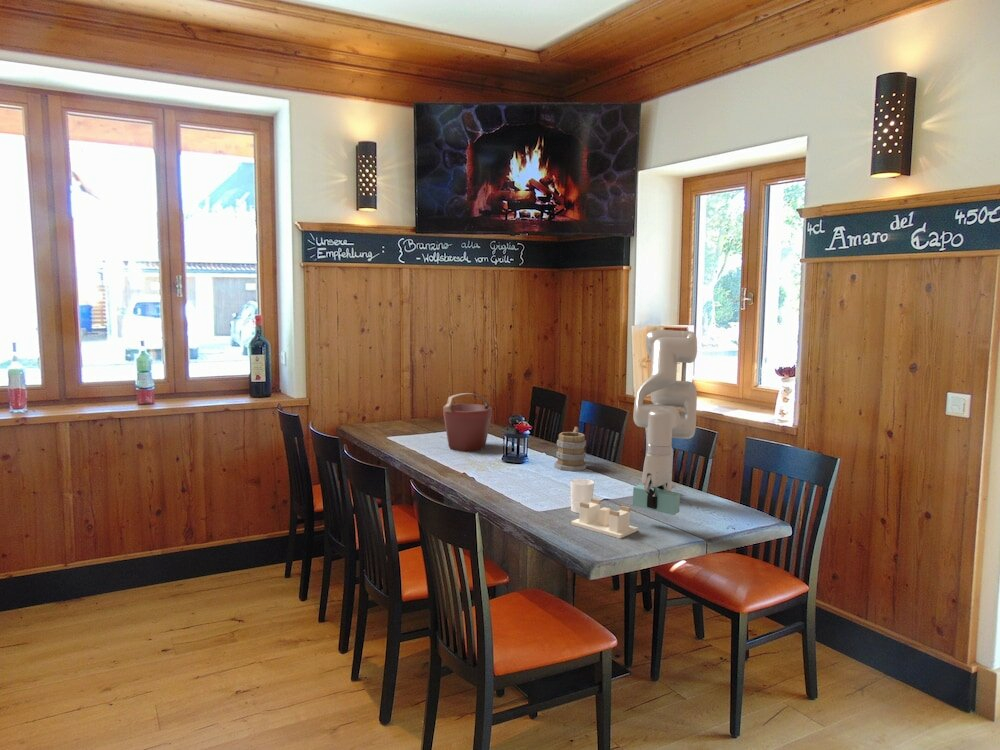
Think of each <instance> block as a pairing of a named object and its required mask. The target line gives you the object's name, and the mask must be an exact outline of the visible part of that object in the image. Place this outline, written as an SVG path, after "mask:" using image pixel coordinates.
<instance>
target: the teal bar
mask: <svg viewBox="0 0 1000 750" xmlns="http://www.w3.org/2000/svg"><path fill="white" fill-rule="evenodd" d="M644 486H645V485H643V484H641V483H640V484H637V485H636V486H633V489H632V490H633V491H632V492H633V494H632V506H633V507H637V508H642V509H646V510H650V511H653V512H659V513H661V514H663V513H664V514H667V515H672V516H675V515H676V514H678V513H680V507H681V506H680V503H681V492H676V491H672V490H671V491H667V490H663V489H658V488H657V493H656V496H657V508H656V509H653V508H649V507H647V492H646V491H645V490H644ZM651 489H652V490H653V491H654V488H651Z"/></svg>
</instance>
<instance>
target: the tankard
mask: <svg viewBox="0 0 1000 750" xmlns="http://www.w3.org/2000/svg"><path fill="white" fill-rule="evenodd" d="M579 430H580V429H579V427H578V426H574V429H573V430H572V431H563V432H560V433H559V434H558V439H557V440H556V446H557V450H556V452H555V454H556V456H555V457H556V458H557V460H556V461H555V462H554V468H556V469H557V470H561V471H568V472H579V471H584V470H585V469H587V467H588V464H587V463H586V462H585V461H584V460H585V458H586V454H587V452H586V451H585V447H586V445H587V440H585V439H586V438H585V437H586V436H585V435H586V434H584V433H581V432H579Z"/></svg>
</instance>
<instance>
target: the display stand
mask: <svg viewBox="0 0 1000 750" xmlns="http://www.w3.org/2000/svg"><path fill="white" fill-rule="evenodd" d="M578 514H579V515H578V516H579V518H576V519H573V520H571V521H570V525H572V526H575V527H579V528H582V529H585V530H589V531H592V532H596V533H599V534H602V535H603V534H604V535H605V536H610V537H614V538H617V539H622V538H624V537H626V536H629V535H631V534H633V533H636V532H638V528H639V527H638V526H637V527H636V526H633V525H631V523H630V522H631V507H630V506H626V505H620V509H619V510H614V509H611V508H609V507H605V506H604V507H601V499H597V498H595V497H593V498H592V499H591V502H590V503H588V504H587V503H583V502H580V513H578Z"/></svg>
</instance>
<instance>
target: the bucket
mask: <svg viewBox="0 0 1000 750" xmlns="http://www.w3.org/2000/svg"><path fill="white" fill-rule="evenodd" d="M463 396H474V397H477V398H478V399H480V400H482V401H483V402H484V403H485V405H484V404H481V403H480V404H479V403H454V399H457V398H460V397H463ZM442 413H443V414H442V415H443V420H444V425H445V426H444V427H445V432H446V438H447V444H448V447H449V449H450V450H452V451H457V452H478V451H479V452H481V451H482V450H483V449H485V447H486V444H487V440H488V434H489V430H490V426H491V422H492V415H493V407H491V403H490V401H488V399H487V398H485V397H483V396H482V395H479V394H476V393H470V392H464V393H462V392H461V393H457V394H453V395H450V396H448V397H447V403H445V405H443V407H442Z"/></svg>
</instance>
